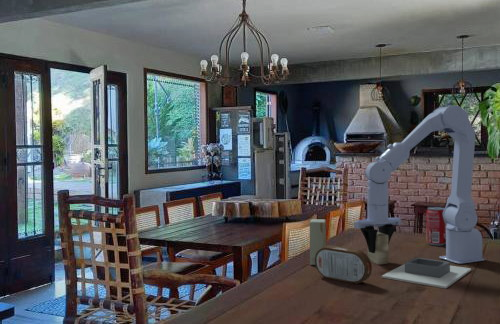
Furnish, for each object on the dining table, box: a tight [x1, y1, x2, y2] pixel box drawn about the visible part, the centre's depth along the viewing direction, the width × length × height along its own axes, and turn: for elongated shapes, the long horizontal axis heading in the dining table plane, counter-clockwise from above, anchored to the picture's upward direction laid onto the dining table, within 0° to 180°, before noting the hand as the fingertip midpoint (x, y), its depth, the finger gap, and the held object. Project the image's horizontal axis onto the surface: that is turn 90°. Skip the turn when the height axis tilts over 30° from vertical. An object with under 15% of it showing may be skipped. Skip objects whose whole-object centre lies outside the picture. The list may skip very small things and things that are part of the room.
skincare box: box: [309, 218, 327, 266], centre depth 145 cm, size 6×4×12 cm
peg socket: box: [381, 256, 472, 289], centre depth 132 cm, size 20×16×3 cm
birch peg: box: [367, 231, 389, 265], centre depth 145 cm, size 4×5×8 cm
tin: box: [314, 244, 373, 285], centre depth 127 cm, size 15×3×8 cm, turn 50°
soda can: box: [425, 206, 447, 247], centre depth 167 cm, size 6×6×12 cm
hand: (377, 251), depth 145 cm, fingers closed on birch peg, 3 cm apart
